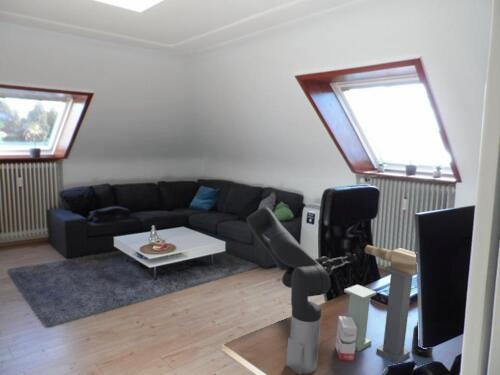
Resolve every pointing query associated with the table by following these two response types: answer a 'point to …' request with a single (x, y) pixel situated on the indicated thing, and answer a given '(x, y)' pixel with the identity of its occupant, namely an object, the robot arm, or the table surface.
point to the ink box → (346, 338)
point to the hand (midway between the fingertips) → (348, 258)
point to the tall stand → (396, 316)
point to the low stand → (360, 312)
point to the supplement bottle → (416, 348)
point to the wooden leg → (396, 258)
